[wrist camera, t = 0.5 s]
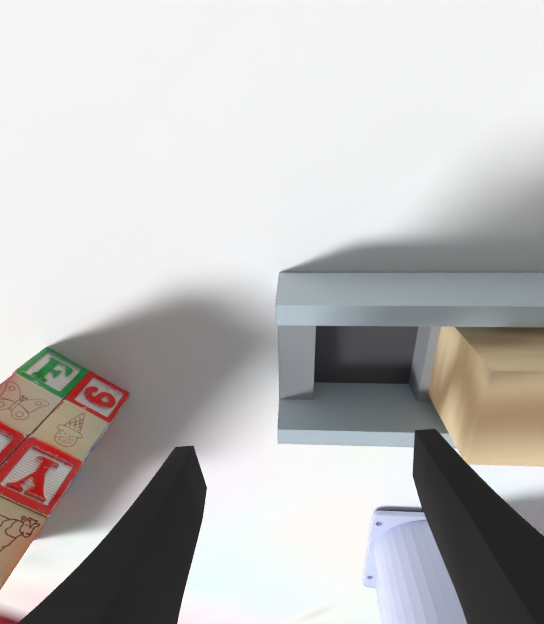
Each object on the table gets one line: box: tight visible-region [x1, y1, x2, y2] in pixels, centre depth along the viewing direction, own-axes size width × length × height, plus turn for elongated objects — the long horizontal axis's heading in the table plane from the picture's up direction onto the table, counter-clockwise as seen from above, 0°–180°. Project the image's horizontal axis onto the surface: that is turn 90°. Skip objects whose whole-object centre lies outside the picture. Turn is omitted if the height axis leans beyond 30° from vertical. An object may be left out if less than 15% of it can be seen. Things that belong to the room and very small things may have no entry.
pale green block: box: [276, 272, 544, 448], centre depth 19 cm, size 12×27×4 cm, turn 91°
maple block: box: [428, 327, 544, 466], centre depth 17 cm, size 5×5×5 cm
